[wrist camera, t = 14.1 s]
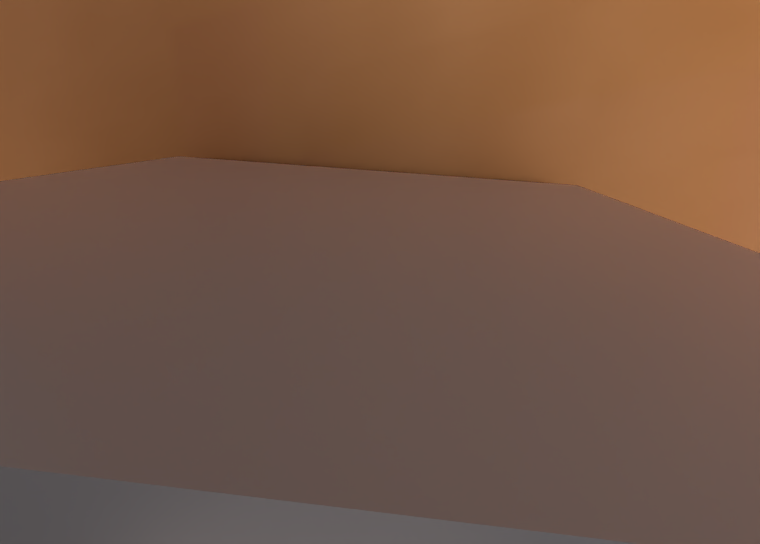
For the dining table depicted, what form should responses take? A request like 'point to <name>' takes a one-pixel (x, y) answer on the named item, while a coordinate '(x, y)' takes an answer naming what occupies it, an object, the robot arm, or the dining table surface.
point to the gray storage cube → (368, 362)
